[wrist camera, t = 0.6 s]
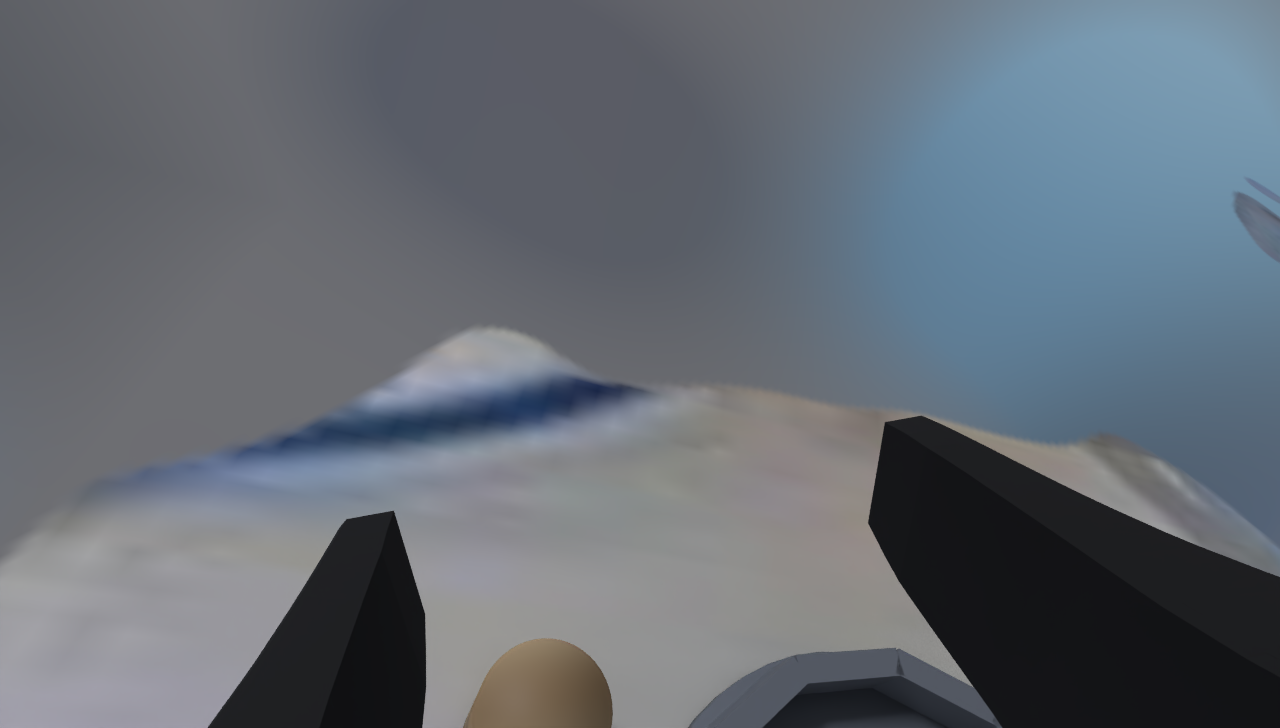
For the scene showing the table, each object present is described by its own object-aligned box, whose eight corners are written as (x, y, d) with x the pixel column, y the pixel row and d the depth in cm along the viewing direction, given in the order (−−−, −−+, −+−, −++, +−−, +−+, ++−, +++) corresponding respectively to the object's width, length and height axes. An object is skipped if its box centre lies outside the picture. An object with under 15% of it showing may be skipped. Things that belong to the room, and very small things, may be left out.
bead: (581, 800, 23) (619, 781, 19) (458, 817, 22) (474, 798, 18) (572, 674, 25) (605, 635, 22) (461, 682, 24) (476, 642, 20)
